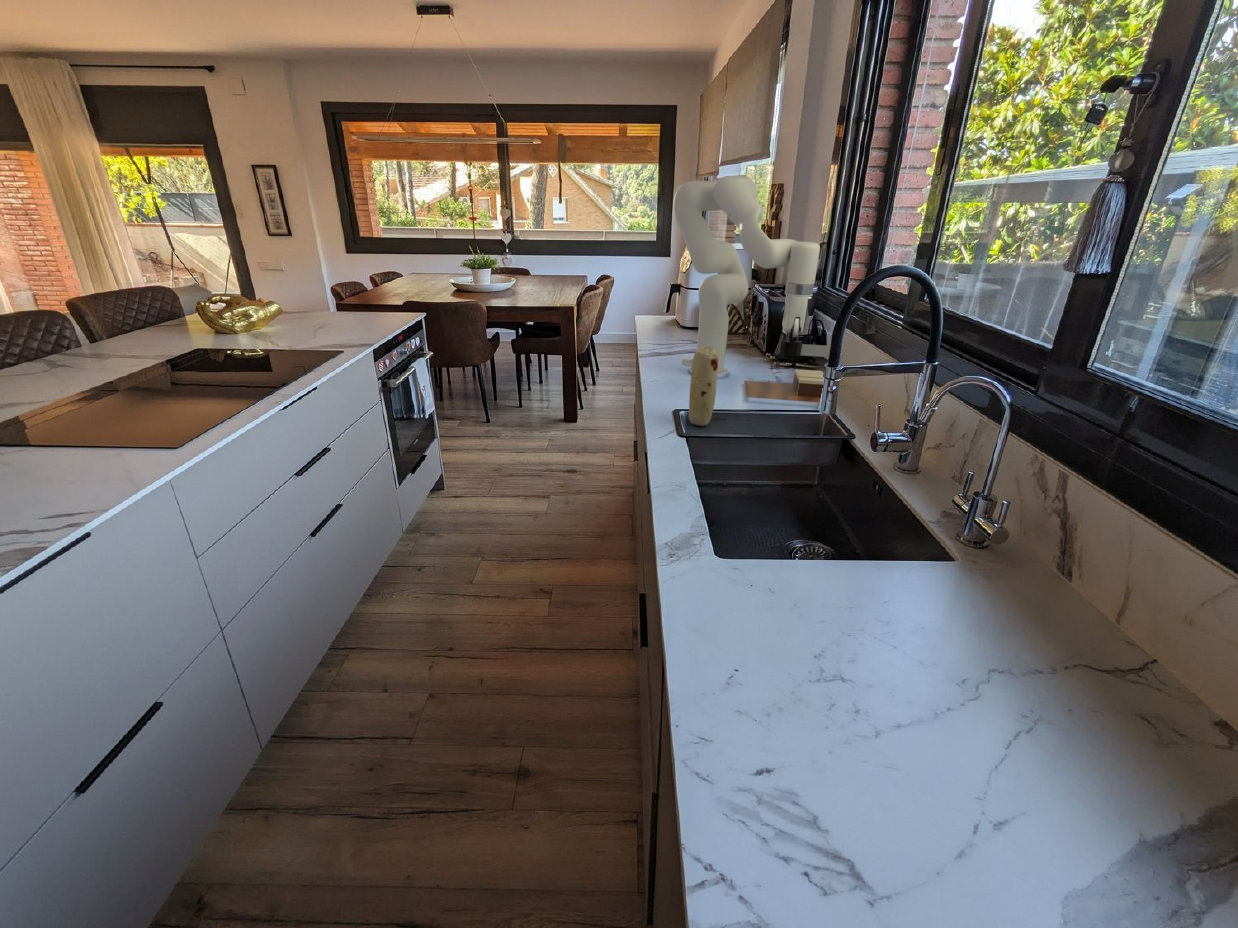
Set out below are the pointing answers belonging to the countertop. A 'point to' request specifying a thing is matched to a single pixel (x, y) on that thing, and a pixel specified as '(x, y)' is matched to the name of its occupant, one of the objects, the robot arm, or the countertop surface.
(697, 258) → the robot arm
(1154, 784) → the countertop surface
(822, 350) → the knife
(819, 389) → the cake slice
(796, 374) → the cake
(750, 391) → the cutting board
